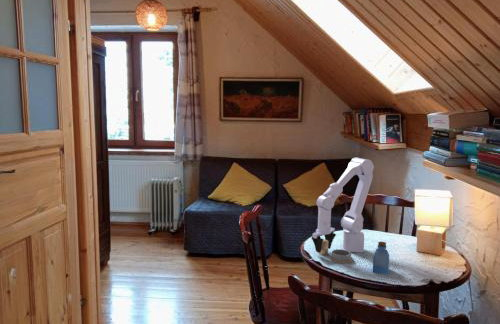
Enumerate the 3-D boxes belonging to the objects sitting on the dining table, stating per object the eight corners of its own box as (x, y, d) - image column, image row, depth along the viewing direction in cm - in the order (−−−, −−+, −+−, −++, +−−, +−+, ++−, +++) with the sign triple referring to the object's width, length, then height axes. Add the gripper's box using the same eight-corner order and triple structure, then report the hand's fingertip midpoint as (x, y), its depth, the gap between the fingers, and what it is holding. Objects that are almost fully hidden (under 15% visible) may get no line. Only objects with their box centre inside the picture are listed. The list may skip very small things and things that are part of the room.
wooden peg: (327, 251, 192) (327, 239, 191) (328, 255, 187) (329, 242, 186) (317, 251, 192) (317, 239, 191) (318, 255, 187) (319, 242, 187)
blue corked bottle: (388, 268, 172) (390, 241, 171) (388, 274, 166) (390, 246, 165) (373, 266, 174) (374, 239, 173) (372, 272, 168) (374, 244, 167)
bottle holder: (349, 255, 187) (350, 249, 187) (355, 263, 177) (355, 256, 177) (328, 255, 187) (328, 248, 187) (331, 263, 178) (332, 256, 177)
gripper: (326, 217, 195) (325, 244, 197) (307, 222, 185) (306, 251, 187) (338, 220, 190) (337, 248, 192) (320, 225, 180) (319, 255, 182)
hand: (323, 250), depth 189 cm, fingers open, 7 cm apart
